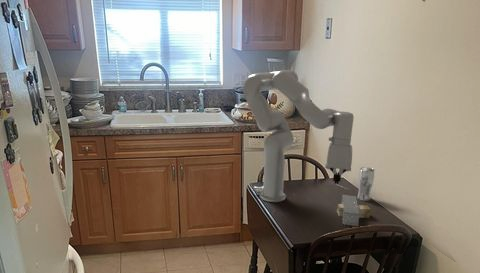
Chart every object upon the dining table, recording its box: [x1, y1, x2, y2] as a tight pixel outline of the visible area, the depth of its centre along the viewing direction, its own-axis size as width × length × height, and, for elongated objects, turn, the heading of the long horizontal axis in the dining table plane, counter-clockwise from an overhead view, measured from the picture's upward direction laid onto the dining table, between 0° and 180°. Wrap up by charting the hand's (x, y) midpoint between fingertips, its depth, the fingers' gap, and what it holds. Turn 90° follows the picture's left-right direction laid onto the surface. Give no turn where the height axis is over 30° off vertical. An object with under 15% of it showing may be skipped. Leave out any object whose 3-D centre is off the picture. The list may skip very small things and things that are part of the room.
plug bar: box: [336, 203, 371, 219], centre depth 162 cm, size 13×4×4 cm, turn 87°
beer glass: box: [356, 166, 375, 202], centre depth 179 cm, size 7×7×15 cm
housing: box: [340, 194, 360, 227], centre depth 161 cm, size 6×19×6 cm, turn 167°
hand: (336, 182), depth 160 cm, fingers closed
